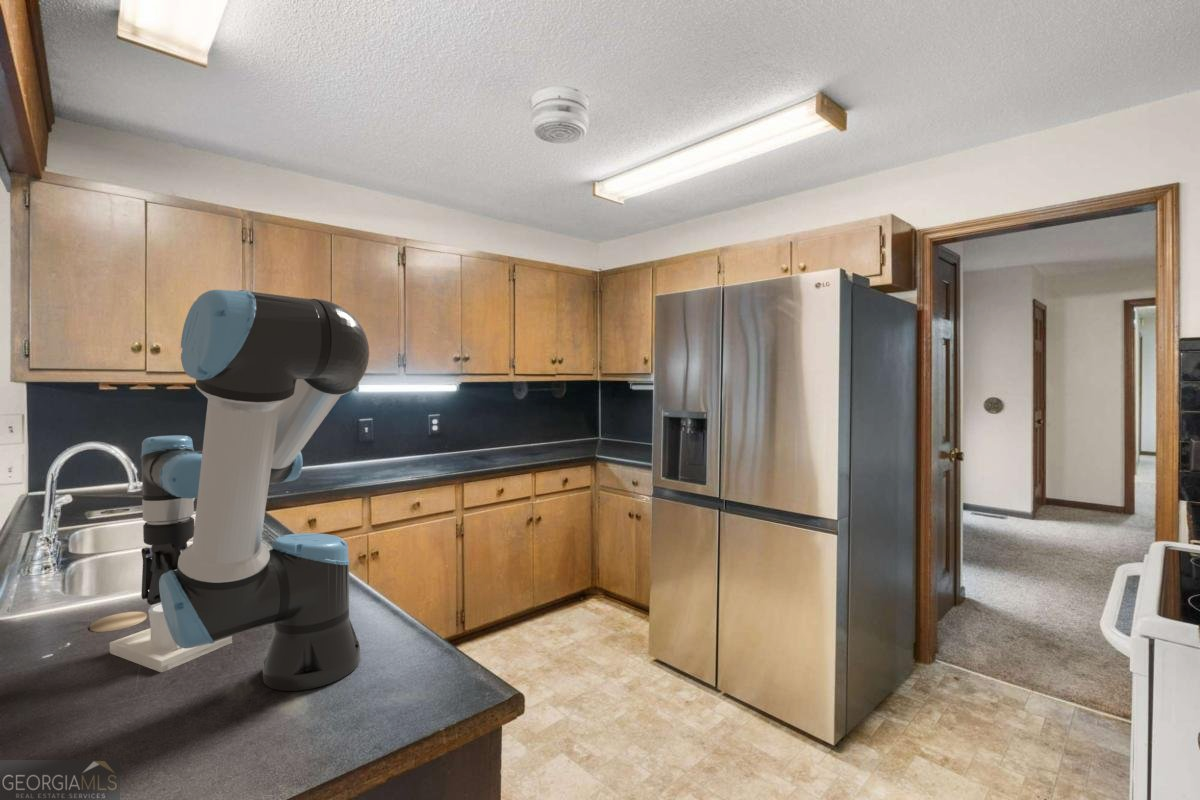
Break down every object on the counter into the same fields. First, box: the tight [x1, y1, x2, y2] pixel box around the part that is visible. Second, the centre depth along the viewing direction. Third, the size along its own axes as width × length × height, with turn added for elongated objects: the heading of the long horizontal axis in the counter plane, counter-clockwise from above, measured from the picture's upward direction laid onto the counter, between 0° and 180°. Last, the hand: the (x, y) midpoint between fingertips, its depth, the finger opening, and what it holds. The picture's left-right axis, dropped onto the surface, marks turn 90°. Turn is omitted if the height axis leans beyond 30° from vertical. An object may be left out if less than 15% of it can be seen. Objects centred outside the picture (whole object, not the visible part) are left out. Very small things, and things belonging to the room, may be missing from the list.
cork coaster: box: [89, 611, 148, 633], centre depth 115 cm, size 9×9×1 cm
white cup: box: [147, 603, 175, 650], centre depth 104 cm, size 7×7×7 cm
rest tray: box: [109, 627, 233, 674], centre depth 105 cm, size 16×12×2 cm
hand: (171, 640), depth 105 cm, fingers open, 7 cm apart
